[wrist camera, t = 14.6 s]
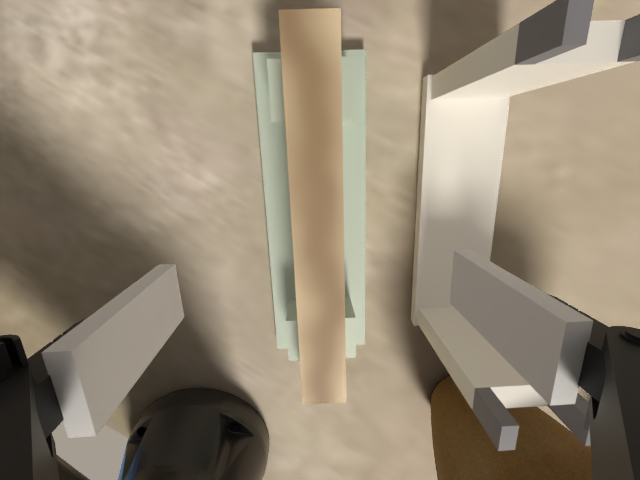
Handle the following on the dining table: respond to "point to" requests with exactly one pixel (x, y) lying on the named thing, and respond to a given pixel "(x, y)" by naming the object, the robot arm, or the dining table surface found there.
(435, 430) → the plant pot
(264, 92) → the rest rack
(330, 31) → the rail
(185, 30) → the dining table surface
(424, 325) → the stand
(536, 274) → the dining table surface
